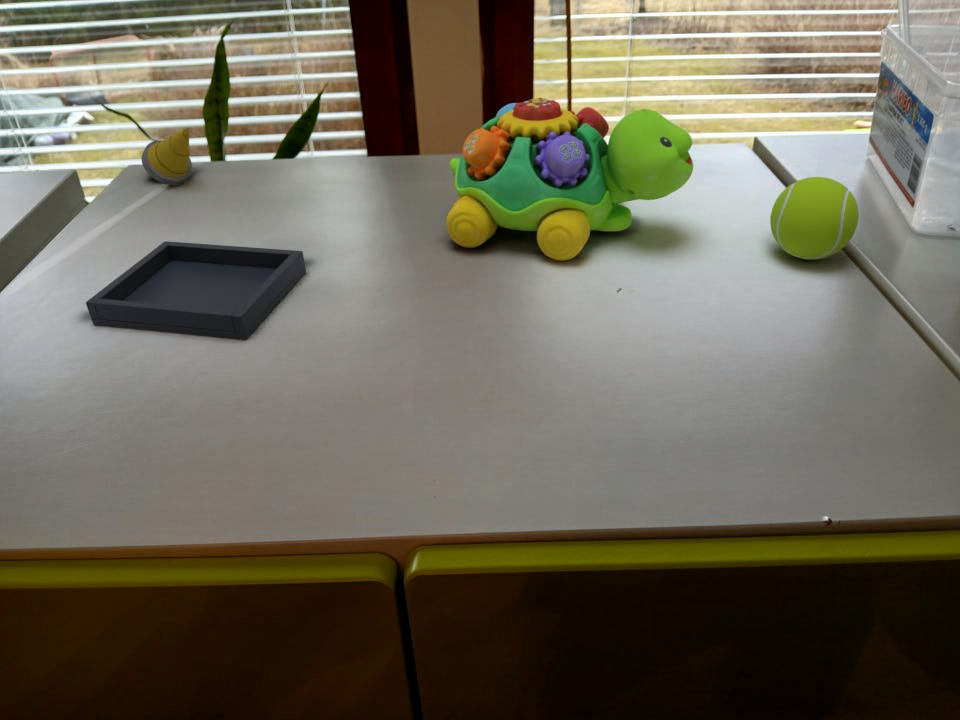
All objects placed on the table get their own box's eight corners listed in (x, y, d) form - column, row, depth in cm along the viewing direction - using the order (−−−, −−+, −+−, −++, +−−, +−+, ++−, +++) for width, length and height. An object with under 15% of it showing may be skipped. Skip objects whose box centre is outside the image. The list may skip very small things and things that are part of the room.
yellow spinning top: (185, 172, 95) (217, 123, 88) (174, 206, 92) (206, 157, 85) (140, 151, 92) (170, 98, 85) (127, 184, 89) (157, 132, 83)
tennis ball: (853, 247, 71) (871, 171, 67) (842, 279, 66) (861, 200, 62) (773, 233, 74) (786, 160, 70) (756, 264, 69) (769, 187, 65)
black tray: (92, 324, 64) (84, 302, 63) (170, 261, 73) (164, 240, 72) (246, 339, 61) (241, 316, 60) (306, 272, 71) (302, 250, 70)
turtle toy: (670, 281, 67) (685, 144, 60) (418, 248, 74) (408, 122, 68) (696, 206, 80) (711, 87, 74) (480, 184, 87) (477, 74, 81)
